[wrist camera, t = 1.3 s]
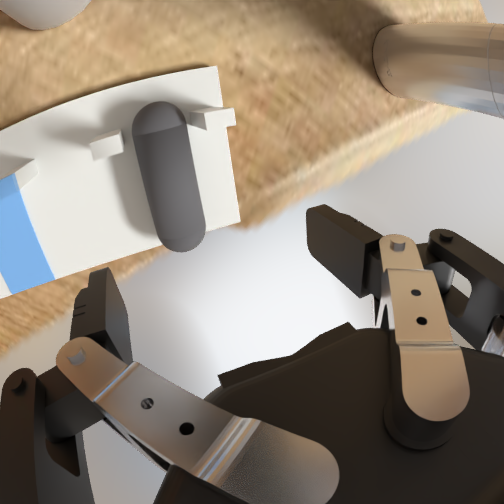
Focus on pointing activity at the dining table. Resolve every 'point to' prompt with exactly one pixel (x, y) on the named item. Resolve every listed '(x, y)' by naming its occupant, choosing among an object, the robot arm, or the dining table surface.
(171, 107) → the dark grey rounded cylinder
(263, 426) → the robot arm
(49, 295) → the dining table surface
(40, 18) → the can
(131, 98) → the white peg board
